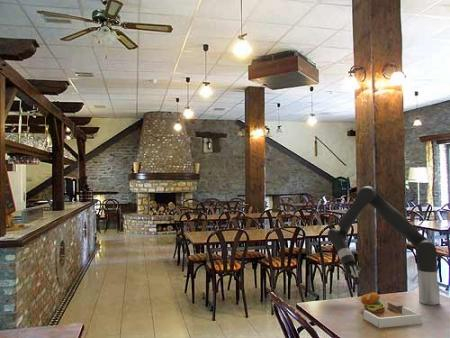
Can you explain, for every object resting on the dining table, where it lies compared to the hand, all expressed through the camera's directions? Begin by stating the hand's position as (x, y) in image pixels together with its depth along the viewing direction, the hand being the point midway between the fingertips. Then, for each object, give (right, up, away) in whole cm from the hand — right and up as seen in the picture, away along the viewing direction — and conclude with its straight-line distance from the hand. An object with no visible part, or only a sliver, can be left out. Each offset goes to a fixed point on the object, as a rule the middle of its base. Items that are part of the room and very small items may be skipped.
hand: (358, 284), depth 211 cm
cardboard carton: (+15, -9, -13) cm, 21 cm away
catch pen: (+6, -8, -29) cm, 31 cm away
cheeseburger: (+3, -9, -13) cm, 17 cm away
